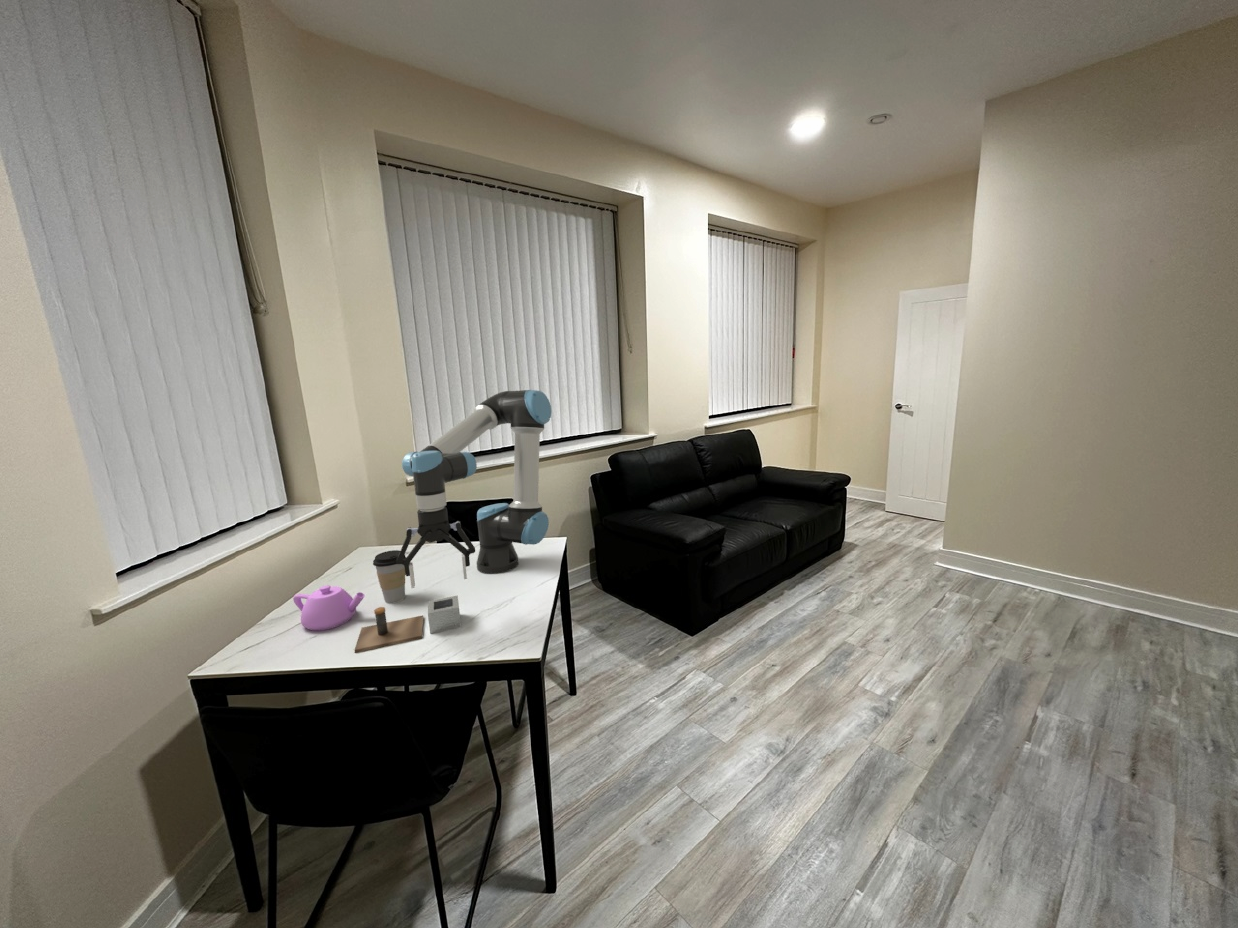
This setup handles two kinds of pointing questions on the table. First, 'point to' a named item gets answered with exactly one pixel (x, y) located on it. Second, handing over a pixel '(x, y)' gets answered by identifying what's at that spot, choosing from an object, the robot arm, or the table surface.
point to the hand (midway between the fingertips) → (439, 581)
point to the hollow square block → (443, 614)
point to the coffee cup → (390, 576)
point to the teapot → (327, 607)
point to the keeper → (389, 631)
